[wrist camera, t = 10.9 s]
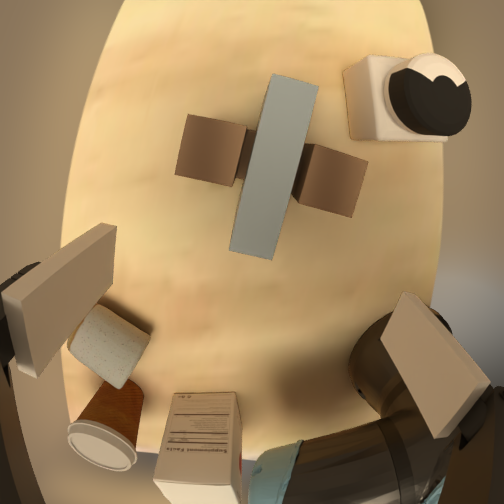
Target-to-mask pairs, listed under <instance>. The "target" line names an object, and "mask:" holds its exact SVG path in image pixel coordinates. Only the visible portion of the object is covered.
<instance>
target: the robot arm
mask: <svg viewBox="0 0 504 504" xmlns="http://www.w3.org/2000/svg"><path fill="white" fill-rule="evenodd" d="M116 231H117V226H114V225H110V224H105V223H100V224H98V225H97V226H95V227H94V228H92V229H90V230H89V231H87V232H86V233H84V234H83V235H81V236H80V237H78V238H76V239H75V240H73V241H72V242H70V243H69V244H67V245H66V246H64V247H63V248H61V249H60V250H58V251H57V252H56V253H54V254H53V255H52V256H50V257H48V258H47V259H46V260H44V261H43V262H36V263H33V264H30V265H28V266H26V267H24V268H23V269H21V270H20V271H19V272H18V274H17V273H16V274H14V275H13V276H12V277H11V279H10V278H9V279H8V280H6V281H5V282H4V283H2V284H1V285H0V504H45V501H44V499H43V496H42V494H41V491H40V488H39V486H38V483H37V480H36V477H35V474H34V471H33V468H32V465H31V462H30V459H29V456H28V452H27V449H26V445H25V442H24V438H23V434H22V430H21V426H20V421H19V416H18V412H17V407H16V402H15V396H14V390H13V383H12V377H11V370H10V367H9V364H8V363H9V362H10V360H11V359H12V358H13V357H14V356H15V359H16V362H17V366H18V369H19V370H21V371H23V372H24V373H26V374H28V375H31V376H33V377H35V378H38V377H39V376H40V374H41V373H42V372H43V370H44V369H45V368H46V366H47V365H48V363H49V362H50V361H51V360H52V358H53V357H54V356H55V354H56V353H57V352H58V350H59V349H60V348H61V346H62V345H63V344H64V342H65V341H66V340H67V339H68V337H69V336H70V335H71V334H72V332H73V331H74V330H75V328H76V327H77V326H78V325H79V323H80V322H81V321H82V320H83V319H84V317H85V316H86V315H87V314H88V312H89V311H90V310H91V309H92V308H93V306H94V305H95V304H96V303H97V302H98V300H99V299H100V298H101V297H102V296H103V294H104V293H105V292H106V291H107V290H108V289H109V287H110V286H111V285H112V284H113V269H114V254H115V242H116ZM349 375H350V378H351V380H352V383H353V386H354V388H355V390H356V391H357V393H358V394H359V395H360V396H361V397H362V398H363V399H365V400H366V401H367V403H368V404H369V405H370V406H371V407H372V408H373V409H374V410H375V411H376V412H377V413H378V414H379V415H380V416H381V419H379V420H376V421H373V422H370V423H367V424H364V425H361V426H357V427H354V428H351V429H347V430H344V431H340V432H337V433H333V434H329V435H326V436H322V437H318V438H313V439H309V440H305V441H304V440H299V441H297V443H293V444H289V445H285V446H281V447H277V448H272V449H269V450H267V451H265V452H264V453H263V454H261V455H260V457H259V458H258V459H257V461H256V463H255V465H254V467H253V471H252V474H251V479H250V485H249V494H248V504H504V387H501V386H497V387H495V388H494V389H493V387H492V386H491V385H490V380H489V379H488V378H487V377H486V375H485V374H484V373H483V371H482V370H481V369H480V368H479V366H478V365H477V364H476V363H475V362H474V360H473V359H472V358H471V357H470V356H469V354H468V353H467V352H466V351H465V349H464V348H463V347H462V346H461V345H460V344H459V342H458V341H457V340H456V339H455V338H454V337H453V335H452V331H451V328H450V327H449V325H448V323H447V322H446V321H445V320H444V319H443V317H442V316H441V315H440V314H439V313H438V312H436V311H435V310H433V309H431V308H429V307H427V306H426V305H425V304H424V303H423V302H422V301H421V300H420V299H419V298H418V297H417V296H416V295H415V294H414V293H409V292H404V291H403V292H402V294H401V296H400V299H399V301H398V303H397V305H396V307H395V309H394V312H392V313H390V314H388V315H387V316H385V317H383V318H382V319H380V320H379V321H378V322H376V323H375V324H374V325H372V326H371V327H370V328H369V329H368V330H367V331H366V332H365V333H364V334H363V336H362V337H361V338H360V339H359V341H358V342H357V344H356V345H355V347H354V349H353V351H352V354H351V357H350V360H349Z"/></svg>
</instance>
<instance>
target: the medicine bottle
mask: <svg viewBox="0 0 504 504" xmlns="http://www.w3.org/2000/svg"><path fill="white" fill-rule="evenodd" d="M343 78H344V85H345V93H346V101H347V109H348V119H349V129H350V137H351V139H352V140H365V141H416V142H443V143H444V142H447V141H448V136H452V135H454V134H457V133H458V132H460V131H461V130H462V129H463V128H464V127H465V125H466V124H467V122H468V119H469V117H470V112H471V94H470V90H469V87H468V84H467V82H466V80H465V78H464V76H463V75H462V73H461V72H460V71H459V70H458V68H457V67H456V66H455V65H454V64H453V63H452V62H450V61H449V60H448V59H446V58H444V57H443V56H440V55H438V54H434V53H424V54H420V55H418V56H415V57H413V58H410V59H407V58H399V57H390V56H379V55H367V56H366V57H364V58H363V59H361V60H360V61H358V62H357V63H355V64H354V65H352V66H351V67H349V68H348V69H346V70H345V71H344V72H343Z"/></svg>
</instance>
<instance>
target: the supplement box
mask: <svg viewBox="0 0 504 504" xmlns="http://www.w3.org/2000/svg"><path fill="white" fill-rule="evenodd" d="M241 480H242V424H241V419H240V414H239V409H238V404H237V399H236V394H235V393H234V392H230V393H193V394H176V393H175V394H174V396H173V399H172V403H171V407H170V411H169V415H168V419H167V423H166V427H165V431H164V435H163V439H162V443H161V447H160V451H159V455H158V460H157V464H156V468H155V472H154V477H153V481H154V482H155V483H156V485H157V486H158V487H159V489H160V490H161V491H162V492H163V495H164V496H165V497H166V498H167V499H168V500H169V501H170V502H171V504H241V482H242V481H241Z"/></svg>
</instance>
